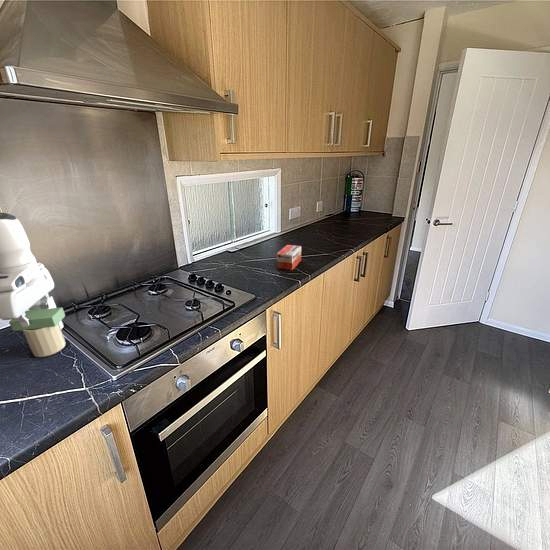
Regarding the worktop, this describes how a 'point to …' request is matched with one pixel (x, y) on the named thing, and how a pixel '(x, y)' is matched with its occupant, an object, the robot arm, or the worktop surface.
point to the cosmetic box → (51, 304)
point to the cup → (45, 340)
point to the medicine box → (289, 257)
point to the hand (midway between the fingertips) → (36, 316)
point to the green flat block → (40, 319)
